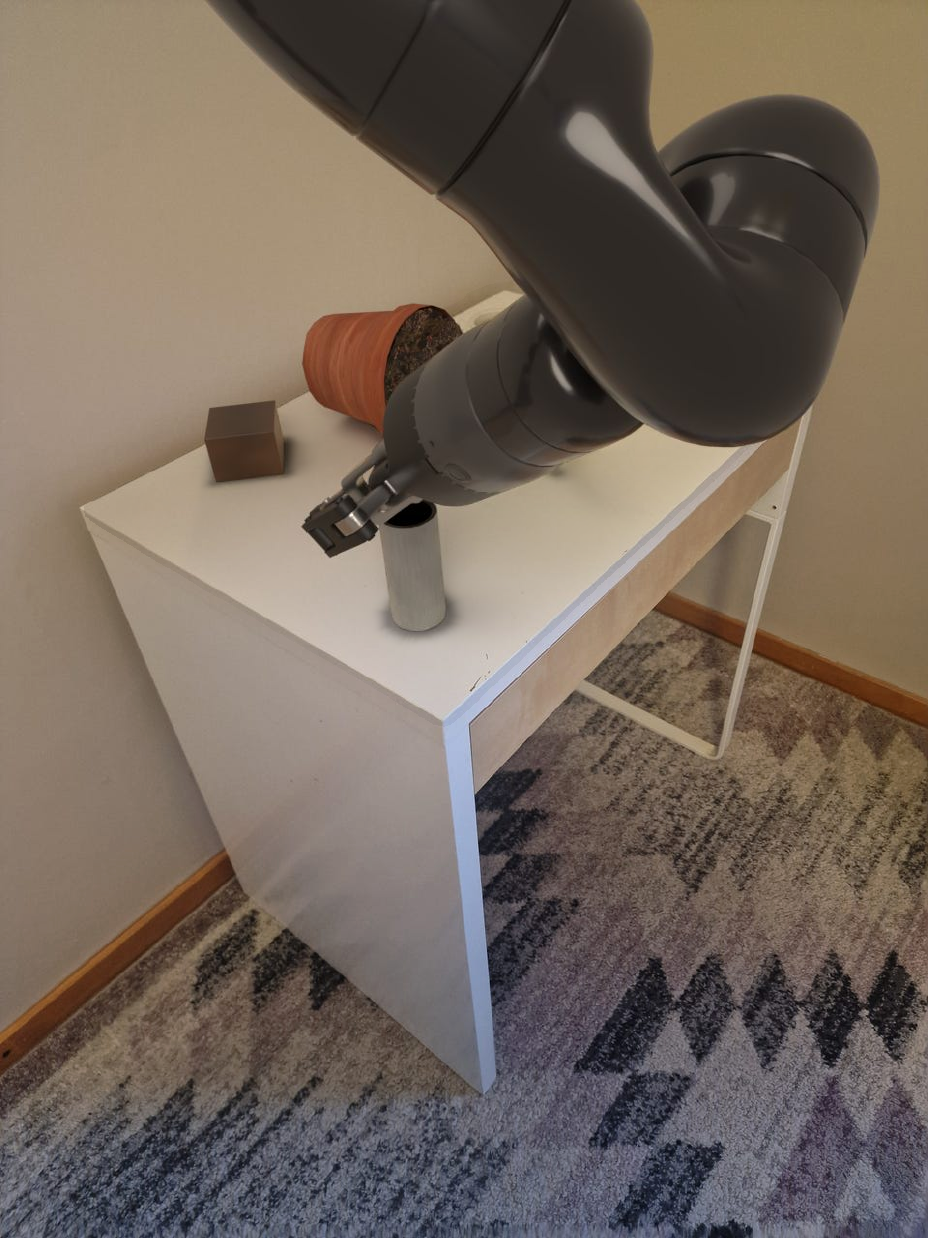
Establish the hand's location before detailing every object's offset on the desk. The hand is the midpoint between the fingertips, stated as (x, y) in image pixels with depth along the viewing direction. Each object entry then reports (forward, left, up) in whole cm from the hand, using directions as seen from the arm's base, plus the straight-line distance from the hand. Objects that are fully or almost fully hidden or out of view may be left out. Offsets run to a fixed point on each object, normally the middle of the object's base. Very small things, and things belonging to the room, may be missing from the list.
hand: (367, 481), depth 56 cm
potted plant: (+11, +32, -17) cm, 38 cm away
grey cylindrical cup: (+3, +5, -17) cm, 18 cm away
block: (-12, +34, -17) cm, 40 cm away
